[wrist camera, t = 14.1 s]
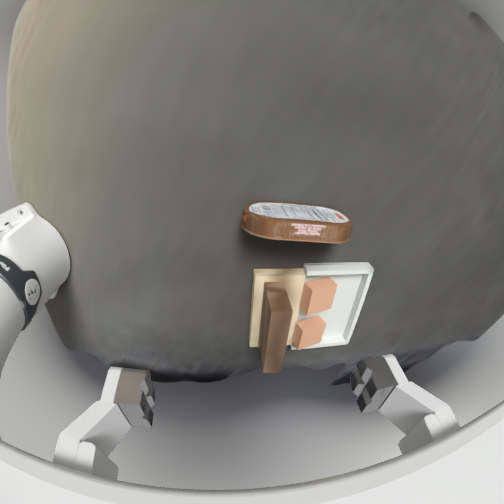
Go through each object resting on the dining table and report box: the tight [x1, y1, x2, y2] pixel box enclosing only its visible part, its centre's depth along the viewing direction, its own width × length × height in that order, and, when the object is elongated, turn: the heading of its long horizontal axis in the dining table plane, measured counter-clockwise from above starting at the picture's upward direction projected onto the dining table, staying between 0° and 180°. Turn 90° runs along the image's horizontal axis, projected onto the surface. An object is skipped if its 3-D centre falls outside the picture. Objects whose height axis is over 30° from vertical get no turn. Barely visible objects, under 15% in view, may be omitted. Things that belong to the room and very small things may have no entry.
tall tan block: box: [258, 282, 293, 373], centre depth 44 cm, size 3×14×7 cm, turn 177°
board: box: [249, 268, 306, 347], centre depth 48 cm, size 8×16×2 cm, turn 177°
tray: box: [290, 262, 374, 350], centre depth 49 cm, size 12×18×2 cm, turn 177°
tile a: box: [299, 277, 338, 315], centre depth 45 cm, size 5×5×2 cm
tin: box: [241, 201, 353, 244], centre depth 37 cm, size 15×3×8 cm, turn 84°
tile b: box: [292, 315, 326, 350], centre depth 49 cm, size 5×5×2 cm
